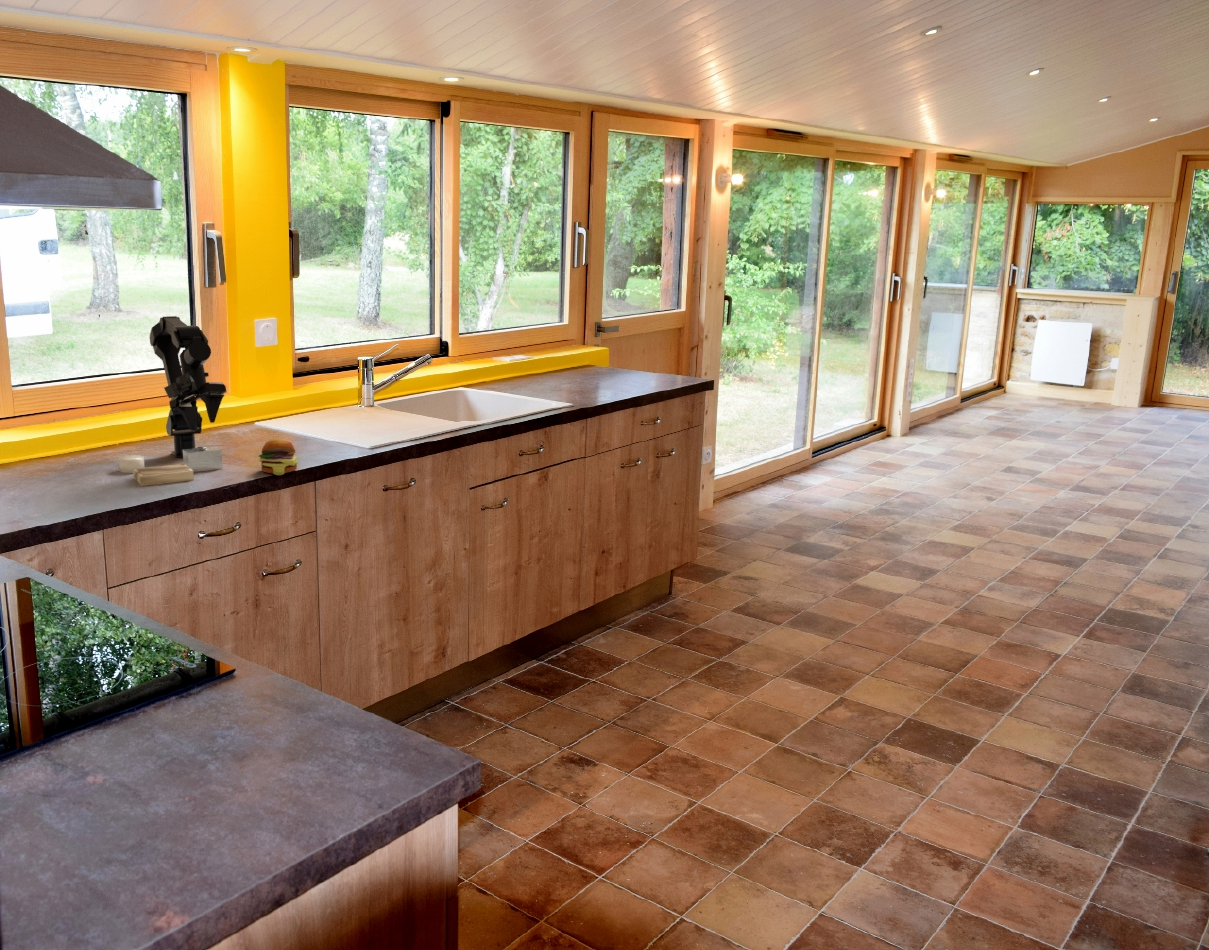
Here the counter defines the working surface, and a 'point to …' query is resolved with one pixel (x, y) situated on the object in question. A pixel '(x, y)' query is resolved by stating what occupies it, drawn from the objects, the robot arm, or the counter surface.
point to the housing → (203, 458)
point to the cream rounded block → (130, 463)
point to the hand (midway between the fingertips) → (202, 426)
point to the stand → (163, 474)
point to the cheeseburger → (278, 457)
